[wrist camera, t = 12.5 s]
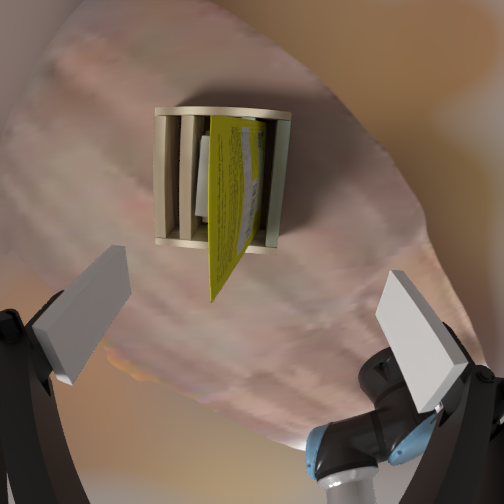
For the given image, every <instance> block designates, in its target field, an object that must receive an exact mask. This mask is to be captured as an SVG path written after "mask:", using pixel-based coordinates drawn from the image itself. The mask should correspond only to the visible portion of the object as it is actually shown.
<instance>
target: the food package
mask: <svg viewBox="0 0 504 504" xmlns="http://www.w3.org/2000/svg"><path fill="white" fill-rule="evenodd" d="M210 119H211V123H210V142H209V170H208V247H209V278H210V289H211V290H210V293H211V296H210V297H211V303H212V302H213V300H214V299H215V297H216V296H217V294H218V293H219V292H220V290H221V289H222V287H223V285H224V284H225V282H226V281H227V279H228V278H229V276H230V274H231V273H232V271H233V270H234V268H235V267H236V265H237V263H238V262H239V260H240V259H241V257H242V256H243V254H244V252H245V251H246V249H247V248H248V246H249V245H250V243H251V242H252V240H253V238H254V237H255V235H256V234H257V232H258V230H259V229H260V225H261V209H262V197H263V181H264V164H265V143H266V123H267V122H261V121H255V120H249V119H242V118H235V117H227V116H218V115H211V117H210Z"/></svg>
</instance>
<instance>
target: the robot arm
mask: <svg viewBox="0 0 504 504" xmlns="http://www.w3.org/2000/svg"><path fill="white" fill-rule="evenodd" d="M131 294H132V292H131V286H130V280H129V273H128V266H127V258H126V250H125V246H117V245H112V246H111V247H109V248H108V249H107V250H106V251H105V252H104V253H103V254H102V255H101V256H100V257H99V258H97V259H96V260H95V261H94V262H93V263H92V264H91V265H90V266H89V267H88V268H87V269H86V270H85V271H84V272H83V273H82V274H81V275H80V276H79V277H78V278H77V279H76V280H75V281H74V282H73V283H72V284H71V285H70V286H69V287H68V288H67V289H66V290H62V291H60V292H58V293H57V294H55V295H53V296H52V297H51V299H50V300H49V301H48V302H47V304H45V305H44V306H43V307H42V309H41V310H39V311H38V312H37V313H36V314H35V315H34V317H33V318H32V319H31V320H30V321H29V322H28V323H27V324H26V325H25V326H24V325H23V323H22V320H21V318H20V316H19V313H18V312H17V311H16V310H15V309H5V310H3V311H0V504H8V492H7V473H8V478H9V482H10V486H11V490H12V494H13V497H14V501H15V504H90V502H89V500H88V498H87V496H86V493H85V491H84V489H83V486H82V484H81V482H80V479H79V476H78V474H77V471H76V469H75V467H74V464H73V461H72V458H71V455H70V452H69V449H68V446H67V443H66V439H65V436H64V432H63V429H62V425H61V421H60V417H59V413H58V410H57V405H56V400H55V396H54V391H53V385H52V381H51V379H50V377H49V375H50V373H51V372H52V370H53V371H54V373H55V375H56V377H57V378H58V380H60V381H62V382H65V383H68V384H70V385H73V384H74V382H75V381H76V379H77V377H78V375H79V374H80V372H81V370H82V369H83V367H84V366H85V364H86V362H87V361H88V359H89V357H90V356H91V354H92V353H93V351H94V349H95V348H96V346H97V345H98V343H99V341H100V340H101V338H102V337H103V335H104V334H105V332H106V331H107V329H108V328H109V326H110V324H111V323H112V321H113V320H114V318H115V317H116V315H117V314H118V313H119V311H120V310H121V308H122V307H123V305H124V304H125V302H126V301H127V299H128V298H129V296H130V295H131ZM375 315H376V317H377V319H378V321H379V323H380V325H381V328H382V330H383V332H384V334H385V336H386V338H387V340H388V342H389V344H390V348H387V349H385V350H383V351H381V352H379V353H377V354H376V355H374V356H373V357H371V358H370V359H369V360H368V361H367V362H366V363H365V364H364V365H363V367H362V368H361V370H360V372H359V375H358V379H359V383H360V387H361V389H362V390H363V391H364V392H365V393H366V395H367V396H368V398H369V399H370V400H371V401H372V403H373V404H374V406H375V410H374V411H371V412H368V413H364V414H361V415H358V416H354V417H351V418H347V419H344V420H340V421H336V422H330V423H328V424H326V425H323V426H319V427H316V428H314V429H313V430H312V431H311V432H310V434H309V436H308V439H307V444H306V463H307V472H308V475H309V477H310V478H311V479H315V480H316V479H317V485H318V486H319V487H321V488H323V489H324V490H325V491H326V495H327V504H376V498H375V492H374V487H373V482H372V481H373V478H374V477H375V476H376V474H377V473H378V471H379V468H378V463H380V462H384V461H387V460H388V463H390V464H391V465H393V466H395V465H399V464H403V463H406V462H408V461H410V460H412V459H414V458H416V457H418V456H419V455H421V454H423V453H424V454H423V456H422V459H421V461H420V463H419V465H418V467H417V470H416V472H415V474H414V476H413V478H412V480H411V482H410V484H409V486H408V487H407V490H406V491H405V493H404V495H403V497H402V498H401V500H400V502H399V504H504V422H503V423H502V424H500V419H501V418H502V417H503V416H504V378H499V377H495V375H494V373H493V372H492V371H491V370H490V369H489V368H487V367H486V366H483V365H475V363H474V361H473V360H472V358H471V357H470V355H469V354H468V352H467V351H466V349H465V348H464V346H463V345H462V344H461V342H460V340H459V339H458V338H457V336H456V334H455V333H454V331H453V330H452V329H451V328H450V327H449V326H448V325H447V324H445V323H444V322H441V320H440V319H439V317H438V316H437V315H436V313H435V312H434V310H433V309H432V308H431V306H430V305H429V304H428V302H427V301H426V300H425V298H424V297H423V296H422V294H421V293H420V292H419V291H418V289H417V288H416V287H415V285H414V284H413V283H412V282H411V280H410V279H409V278H408V277H407V275H406V274H405V273H404V272H403V271H399V270H390V273H389V276H388V279H387V282H386V285H385V288H384V291H383V294H382V297H381V300H380V302H379V305H378V308H377V311H376V313H375ZM440 401H441V402H442V405H443V408H442V409H441V410H440V411H439V413H437V412H436V410H435V407H436V406H437V405H438V404H439V403H440Z"/></svg>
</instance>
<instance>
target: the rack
mask: <svg viewBox="0 0 504 504" xmlns="http://www.w3.org/2000/svg"><path fill="white" fill-rule="evenodd" d="M211 115H218V116H227V117H239V118H242V119H249V120H255V121H257V119H267V120H277V121H276V124H275V135H274V146H273V157H272V168H271V178H270V188H269V199H268V209H267V219H266V228H265V230H258V232H257V234H256V235H255V237H254V238H253V240H252V242H251V243H250V245H249V246H248V248H247V249H246V251H245V252H246V253H258V254H269V255H276V252H277V244H278V236H279V227H280V219H281V210H282V202H283V193H284V184H285V175H286V165H287V156H288V146H289V136H290V126H291V115H292V112H286V111H276V110H266V109H253V108H236V107H161V108H155V121H154V158H153V180H154V217H155V236H156V245H167V246H178V247H190V248H201V249H209V247H208V226H204V225H200V216H197V215H195V211H196V196H197V183H198V171H199V160H200V140H202V136H203V130H204V117H201V116H211ZM175 116H182V121H181V142H180V179H179V219H180V224H178V153H179V128H180V117H175Z"/></svg>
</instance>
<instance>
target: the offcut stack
mask: <svg viewBox="0 0 504 504" xmlns="http://www.w3.org/2000/svg"><path fill="white" fill-rule="evenodd" d="M209 142H210V131H205V135H204V136H202V140H200V160H199V171H198V183H197V196H196V211H195V215H197V216H202V218H203V222H208V170H209Z"/></svg>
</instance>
